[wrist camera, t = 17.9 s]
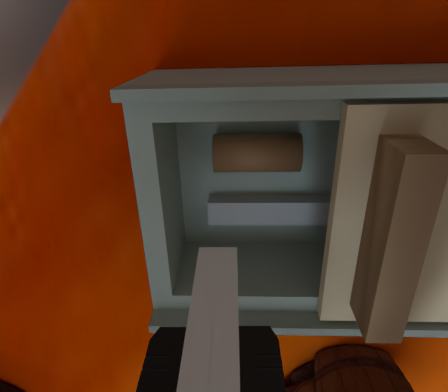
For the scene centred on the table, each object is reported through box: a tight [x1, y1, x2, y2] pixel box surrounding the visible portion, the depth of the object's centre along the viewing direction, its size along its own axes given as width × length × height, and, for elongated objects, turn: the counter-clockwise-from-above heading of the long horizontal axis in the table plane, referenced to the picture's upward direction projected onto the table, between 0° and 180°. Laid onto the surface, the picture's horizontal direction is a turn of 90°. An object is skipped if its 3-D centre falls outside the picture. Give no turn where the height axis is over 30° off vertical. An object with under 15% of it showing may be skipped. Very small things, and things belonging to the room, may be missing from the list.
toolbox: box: [110, 63, 448, 338], centre depth 19 cm, size 22×13×8 cm, turn 91°
